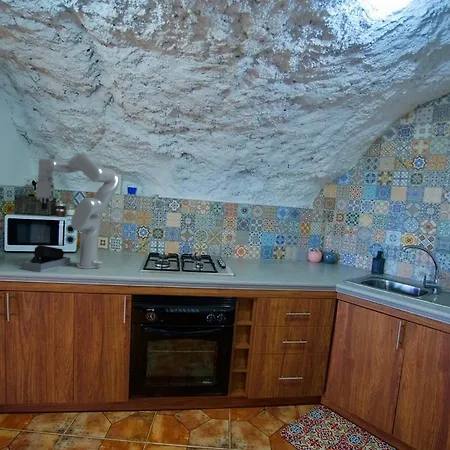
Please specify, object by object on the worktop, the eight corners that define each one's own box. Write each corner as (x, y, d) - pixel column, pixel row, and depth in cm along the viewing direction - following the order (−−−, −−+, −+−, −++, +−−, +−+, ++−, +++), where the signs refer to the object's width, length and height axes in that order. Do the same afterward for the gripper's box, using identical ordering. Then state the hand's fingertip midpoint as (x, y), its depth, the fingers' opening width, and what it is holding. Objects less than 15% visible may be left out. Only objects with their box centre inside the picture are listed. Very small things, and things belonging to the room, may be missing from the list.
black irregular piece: (26, 261, 172) (31, 243, 173) (51, 264, 189) (55, 248, 191) (37, 263, 170) (42, 245, 172) (61, 266, 187) (65, 249, 189)
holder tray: (70, 264, 191) (70, 257, 190) (40, 271, 169) (40, 264, 169) (54, 261, 193) (54, 255, 193) (23, 269, 172) (23, 262, 171)
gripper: (60, 180, 195) (59, 210, 197) (39, 179, 198) (39, 208, 200) (51, 179, 188) (50, 210, 189) (30, 178, 191) (29, 208, 193)
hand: (44, 209), depth 195 cm, fingers closed
